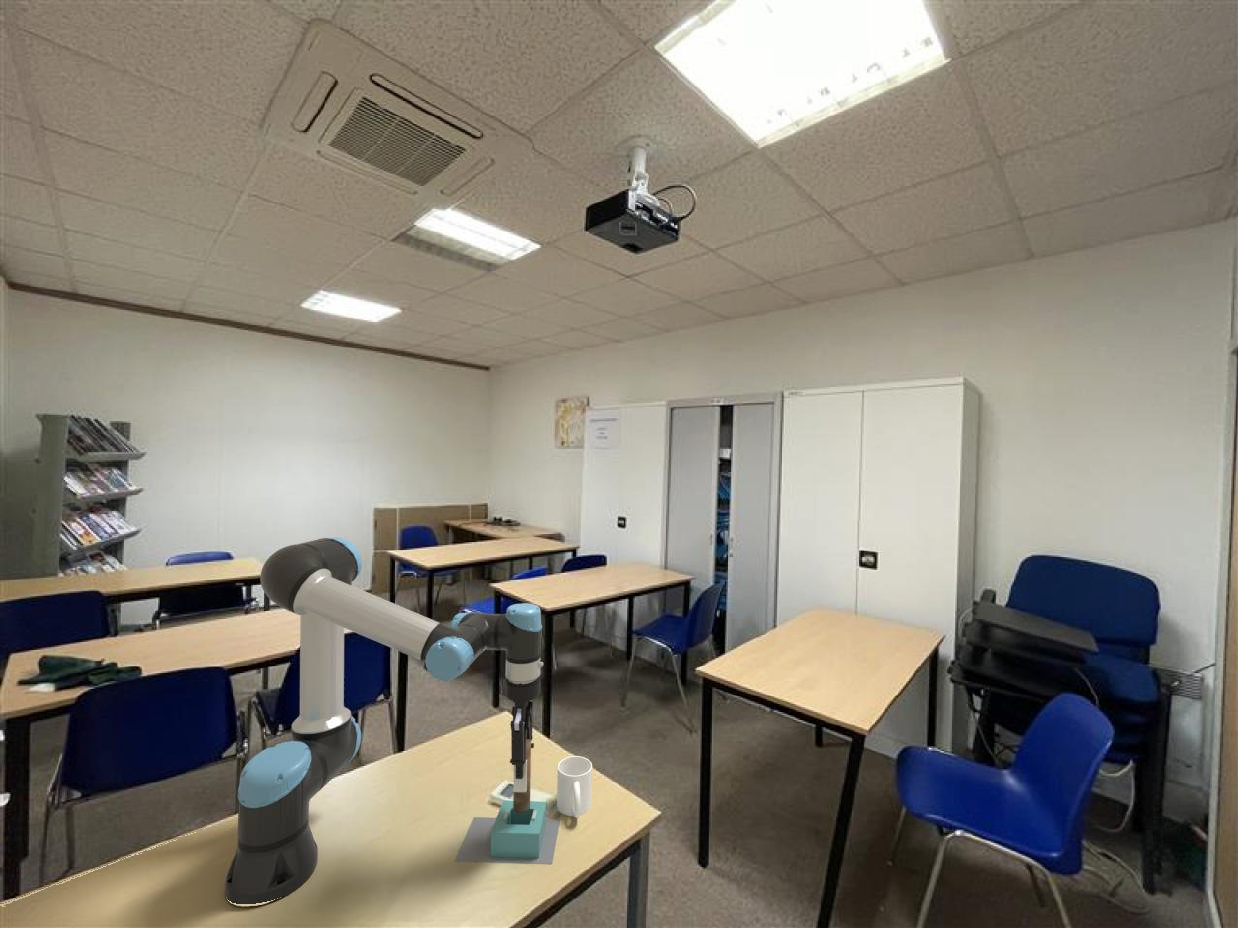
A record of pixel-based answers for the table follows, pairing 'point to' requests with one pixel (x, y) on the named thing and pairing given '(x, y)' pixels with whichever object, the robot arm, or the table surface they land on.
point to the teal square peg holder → (519, 831)
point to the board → (479, 844)
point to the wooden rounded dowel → (523, 798)
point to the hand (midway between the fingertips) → (521, 784)
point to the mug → (574, 786)
